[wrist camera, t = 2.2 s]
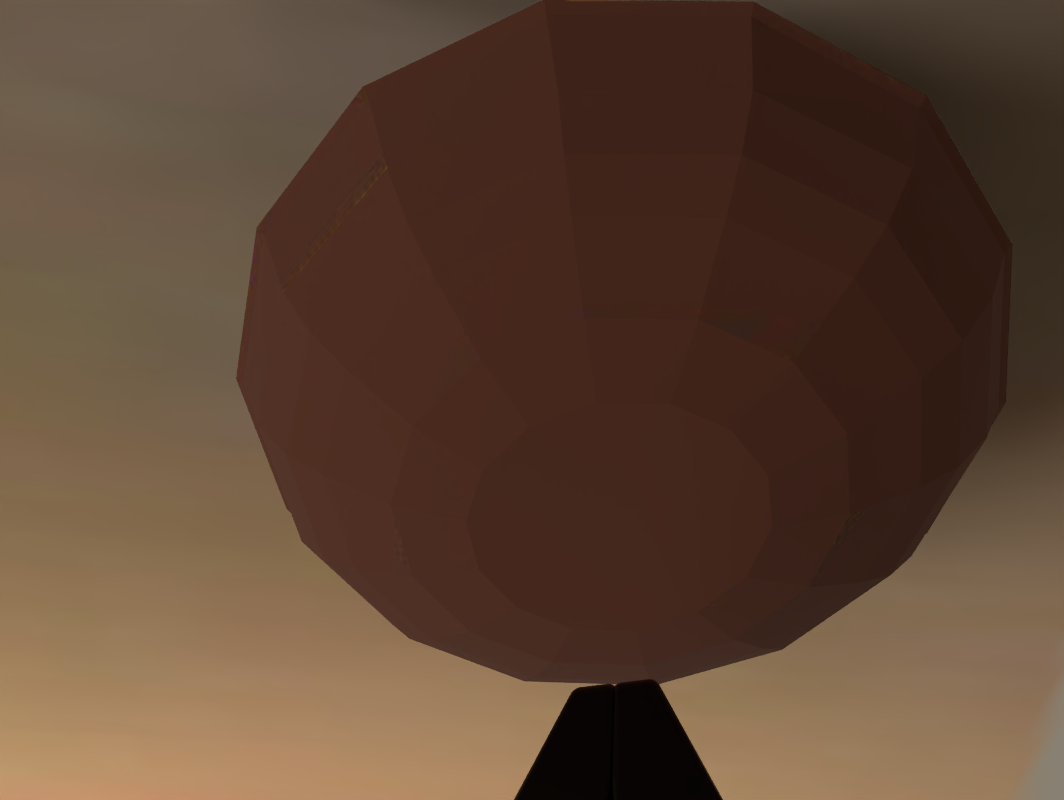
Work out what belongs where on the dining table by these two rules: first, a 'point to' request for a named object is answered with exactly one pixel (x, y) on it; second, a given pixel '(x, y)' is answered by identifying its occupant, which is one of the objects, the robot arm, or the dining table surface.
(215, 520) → the dining table surface
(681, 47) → the muffin
